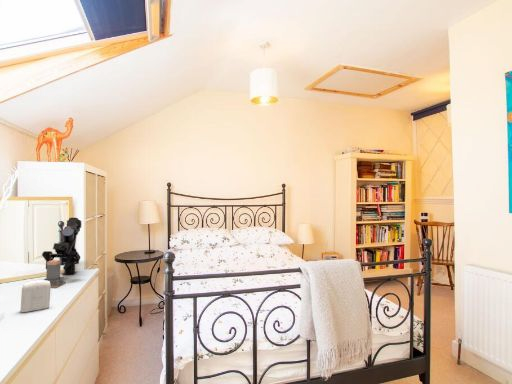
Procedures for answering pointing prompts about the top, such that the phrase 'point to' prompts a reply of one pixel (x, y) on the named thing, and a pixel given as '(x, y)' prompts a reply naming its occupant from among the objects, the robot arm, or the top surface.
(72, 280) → the top surface
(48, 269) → the connector
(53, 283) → the holder
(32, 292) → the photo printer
